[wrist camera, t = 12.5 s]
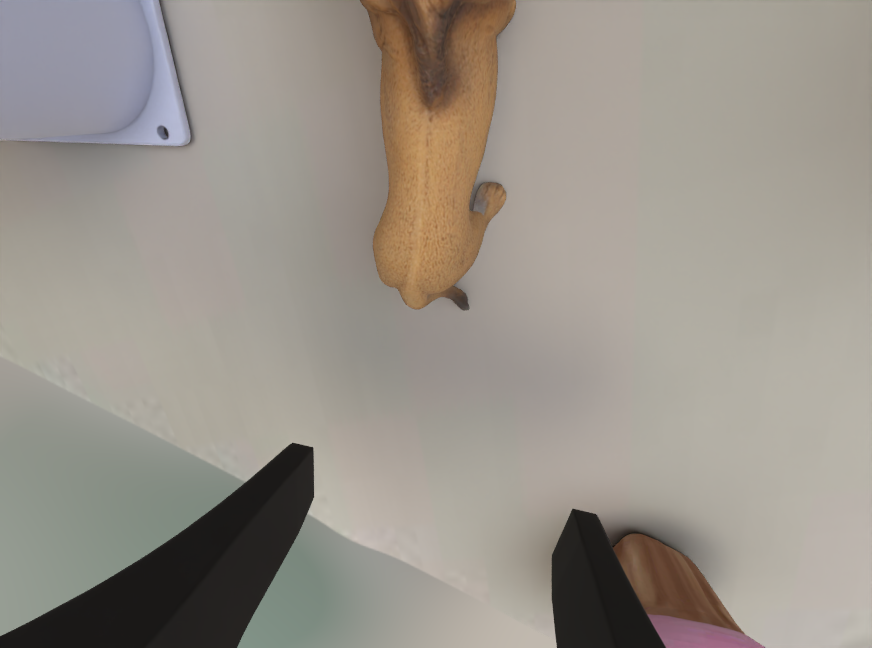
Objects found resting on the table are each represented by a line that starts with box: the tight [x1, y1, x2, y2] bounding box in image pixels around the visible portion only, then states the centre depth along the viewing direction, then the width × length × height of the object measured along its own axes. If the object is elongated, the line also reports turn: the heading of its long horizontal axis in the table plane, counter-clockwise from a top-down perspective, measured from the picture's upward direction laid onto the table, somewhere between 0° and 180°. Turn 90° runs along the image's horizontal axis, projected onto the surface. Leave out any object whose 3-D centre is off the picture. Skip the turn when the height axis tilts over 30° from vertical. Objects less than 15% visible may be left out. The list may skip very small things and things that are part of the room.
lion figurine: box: [360, 0, 516, 310], centre depth 12 cm, size 15×5×9 cm, turn 7°
